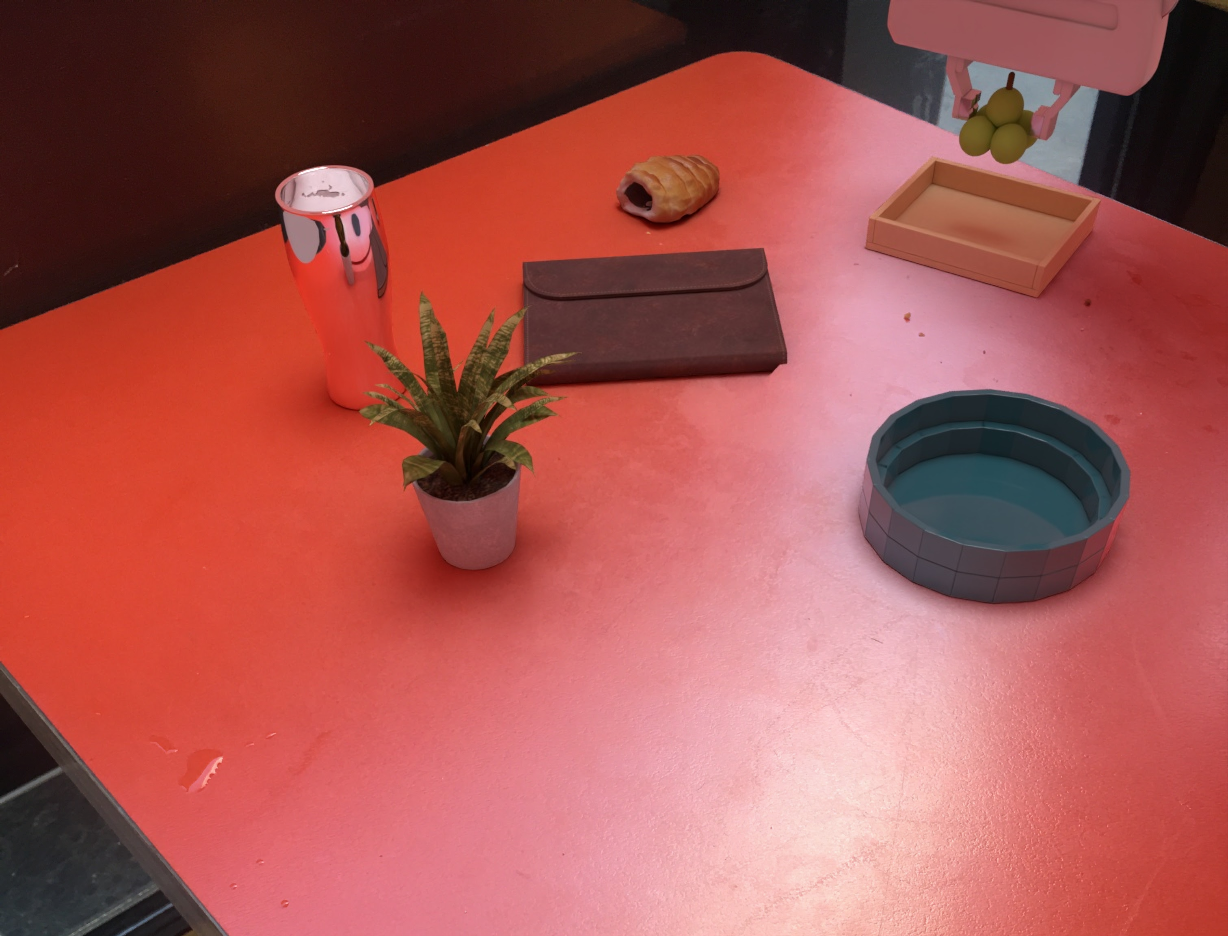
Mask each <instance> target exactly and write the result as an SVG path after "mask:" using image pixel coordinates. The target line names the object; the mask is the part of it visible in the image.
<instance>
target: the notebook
mask: <svg viewBox="0 0 1228 936" xmlns="http://www.w3.org/2000/svg"><path fill="white" fill-rule="evenodd" d="M768 265H769V264H768V259H767V255H766V252H765V248H764V247H755V248H752V247H751V248H737V249H724V250H723V249H720V250H719V249H717V250H704V251H686V252H685V251H684V252H669V253H667V252H666V253H653V254H650V253H649V254H636V255H618V256H616V255H615V256H602V257H586V258H585V257H584V258H583V257H582V258H568V259H567V258H565V259H550V260H534V261H523V262H522V288H523V289H522V294H523V295H522V296H523V298H522V300H523V301H522V302H523V303H522V304H523V308H525V307H528V306H530V307H528V308H527V309H526V311H525V313H524V316H523V366H525V365H527V364H529V363H531V362H533V361H536V360H538V359H540V358H544V357H547V356H551V355H555V354H562V353H572V352H581V353H577V354H574V355H572V356H570V357H567V358H564V359H561V360H557V361H554V362H559V361H570V360H576V361H572V362H567V363H562V364H555V365H548V366H543V367H540V368H538V369H537V370H557V371H556V372H553V373H550V374H544V375H539V376H537V377H535V378H533V379H532V380H530V381H529V382H527V383H526V384H525V386H536V385H553V384H555V385H556V384H571V383H586V382H587V383H588V382H589V383H590V382H604V381H622V380H636V379H653V378H655V379H656V378H657V379H658V378H673V377H686V376H687V377H688V376H705V375H721V374H722V375H723V374H739V373H740V374H741V373H756V372H772V371H776V370H777V369H778V368H779V366H781V365H787V363H788V349H787V345H786V340H785V336H784V331H783V328H782V324H781V319H780V315H779V310H778V306H777V302H776V298H775V294H774V290H773V289H774V288H773V285H772V281H771V277H770V272H769V268H768V267H769V266H768ZM531 305H532V306H531ZM523 308H522V309H523ZM537 370H535V371H537Z"/></svg>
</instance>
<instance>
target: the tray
mask: <svg viewBox="0 0 1228 936" xmlns="http://www.w3.org/2000/svg"><path fill="white" fill-rule="evenodd" d="M1101 202H1102V199H1101V198H1097V197H1094V196H1091V195H1086V194H1082V193H1079V192H1074V191H1071V190H1066V189H1063V188H1059V187H1054V186H1051V185H1047V184H1043V183H1040V182H1036V181H1031V180H1027V179H1025V178H1024V179H1023V178H1019V177H1015V176H1011V175H1007V174H1003V173H1000V172H996V171H992V170H988V169H984V168H980V167H977V166H972V165H969V164H965V163H961V162H958V161H957V162H956V161H953V160H948V159H945V158H941V157H937V156H934V155H932V156H931V157H930V158H929V159H928V160H926V161H925V163H923V164H922V165H921V166H920V167H919V168H918V169H917V170H916V171H915V172H914V173H913V174H912V175H911V176H910V177H909V178H908V179H907V180H906V181H905V182H904V183H902V185H901V186H900V187H899V188H898V189H896V191H894V193H893V194H892V195H891V196H890V197H888V199H886V201H884V203H883V204H881V205H880V207H878V208H877V209H876V210H875V211H874V212H873V213H872V214H871V215H870V216H869V217H868V223H867V224H868V225H867V230H866V238H865V246H864V248H865V249H868V250H871V251H875V252H877V253H881V254H885V255H889V256H892V257H895V258H899V259H903V260H905V261H909V262H912V263H915V264H920V265H922V266H927V267H929V268H932V269H935V270H941V271H944V272H947V273H950V274H954V275H958V276H961V277H964V278H968V279H971V280H974V281H978V282H982V283H985V284H988V285H991V286H996V287H1000V288H1002V289H1005V290H1009V291H1013V292H1016V293H1019V294H1023V295H1027V296H1030V297H1033V298H1038V297H1039V296H1040V295H1041V293H1043V291H1044V290H1045V289H1046V288H1047V286H1048V285H1049V284H1050V283H1051V282H1052V280H1053V279H1054V278H1055V276H1056V275H1057V274H1058V273H1059V272H1060V271H1061V269H1062V268H1063V267H1064V266H1065V264H1066V263H1067V262H1068V261H1069V259H1070V258H1071V257H1072V256H1073V255H1074V253H1075V252H1076V251H1077V250H1078V248H1079V247H1080V246H1081V245H1082V243H1083V242H1084V241H1085V239H1087V237H1088V236H1089V235H1090V234H1091V232H1092V231H1093V230H1094V227H1095V223H1096V220H1097V216H1098V213H1099V209H1100V206H1101Z"/></svg>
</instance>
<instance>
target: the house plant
mask: <svg viewBox="0 0 1228 936" xmlns="http://www.w3.org/2000/svg"><path fill="white" fill-rule="evenodd" d="M423 291H424V289H422V290H421V292H420V295H419V302H418V303H419V305H418V317H419V332H420V337H421V346H422V353H423V355H422V356H423V367H424V377H425V379H424V378H423V377H422V376H420V375H419V374H416V373H414V372H412V371H411V370H410V369H409V368H408V367H407V366H406V365H405V364H404V363H403V362H402V361H401V359H400V360H398V359H397V358H396V357H395V356H394V355H392V354H391V353H390V352H388V351H387V350H385V349H383V348H382V347H380V346H377V345H374V344H372V343H370V342H367V341H365V342H366V343H367V345H368V346H369V347H370V348H371V350H372V351H374V352H375V353H376V354H377V355H379V356H380V357H381V358H382V360H383V362H384V363H385V365H386V366H387V368H388V369H389V370H390V372H387V373H391V372H392V373H393V374H394V375H395V376H396V377H397V378H398V379H399V380H400V381H401V383H402V384H403V385H404V386H405V388H406V389H405V390H406V391H408V393H409V395H410V397H411V399H412V400H411V399H410V398H409V397H407V396H405V394H401V393H399V392H397V391H396V390H395V389H393V388H392V387H390V386H389V385H387V384H375V385H377V386H380V387H384V388H388V389H390V390H391V391H393V392H395V393H396V394H397V395H399V396H400V397H399V398H402V399H403V400H405V401H406V402H407V403H408V404H409V405H410V406H411V407H412V408H409V407H408V408H407V407H405V406H404V405H402V404H401V403H399V402H398V401H397V400H393V399H390V398H388V397H386V396H384V395H382V394H380V393H377V392H363V393H364V394H366V395H368V396H370V397H372V398H376V399H380V400H381V401H383V402H384V403H386V404H387V405H385V404H374V405H369V406H367V407H365V408H363V409H361V410H358V412H357V413H358V414H359V413H360V415H361V416H362V417H363V418H365V419H367V420H369V421H370V423H369V425H368V426H367V428H368V427H370V426H373V424H375V423H377V424H380V425H385V426H389V427H391V428H395V429H398V430H401V431H403V432H405V433H407V434H408V435H410V436H412V438H414V439H416V440H417V441H418V442H419V443H421V444H422V445H423V446H424V447H423V448H422V449H421V450H420V451H419V452H418V453H417V454H413V455H410V456H407V457H405V458H404V459H402V462H401V468H402V476H403V483H402V487H403V492H405V491H406V488H407V487H408V486H409V485H412V487H413V490H414V493H415V494H416V497H417V499H418V501H419V504H420V507H421V509H422V511H423V514H424V517H425V518H426V522H427V524H428V527H429V529H430V531H431V534H432V537H433V539H434V541H435V544H436V546H437V548H438V551H439V553H440V556H441V557H442V559H443V560H444V561H445V560H446V561H445V562H447V563H448V564H450V565H451V566H453V567H455V568H458V569H463V570H469V571H474V570H475V571H476V570H484V569H485V570H486V569H488V568H492V567H495V566H496V565H497V566H498V565H499V564H501V563H502V562H504V561H505V560H507V559H508V558H509V557H510V556H511V554H512V553H513V552H514V550H515V547H516V542H517V541H516V540H517V529H518V528H517V527H518V516H519V515H518V514H519V499H520V488H521V486H520V485H521V477H522V476H521V474H522V473H521V472H522V466H524V467H525V468H527V469H528V470H529V471H531V472H532V474H533V476H534V478H537V477H536V474H535V470H534V463H533V457H532V455H531V453H530V452H529V450H528V449H527V448H526V447H525V446H524V445H522V444H520V443H519V442H517V441H513V440H508V439H507V438H508V437H509V436H510V435H511V434H512V433H514V432H516V431H519V430H521V429H524V428H526V427H529V426H531V425H533V424H536V423H539V422H540V421H544V420H545V419H547V418H550V417H559V418H562V416H561V415H559V414H558V412H555V411H554V410H552V409H550V408H549V407H547V406H545V405H547V404H549V403H553V402H554V403H555V402H559V401H562V400H565V399H569V398H570V397H568V396H552V395H551V394H550V393H548V392H546V391H545V390H543V389H542V388H539V387H537V386H534V385H526V383H527V382H529V381H530V380H532V379H533V378H535V377H537V376H539V375H544V374H550V373H553V372H556V371H557V370H537V369H538V368H540V367H543V366H548V365H555V364H562V363H567V362H572V361H576V360H570V361H559V362H554V361H557V360H561V359H564V358H567V357H570V356H572V355H574V354H577V353H581V352H572V353H562V354H555V355H551V356H547V357H544V358H540V359H538V360H536V361H533V362H531V363H529V364H527V365H525V366H524V365H523V366H519V367H517V368H514V369H511V370H509V371H507V372H504V373H502V374H500V375H498V376H497V374H498V373H499V371H500V369H501V368H502V367H501V366H502V365H503V363H504V361H505V359H506V357H507V356H508V354H509V352H510V351H509V350H510V346H511V342H512V339H513V334H514V331H515V330H516V328H517V327H518V325H519V323H520V322H521V321H522V319H524V313H525V311H526V309H527V308H528V307H530V306H528V307H525V308H521V309H519V310H518V311H517V312H515V313H514V314H512V315H511V316H510V317H508V318H507V319H506V320H505V322H503V323H502V325H501V326H500V327H499V328H498V329H497V331H496V332H495V334H494V335H493V337H492V339H491V341H490V342H489V339H490V336H491V333H492V329H493V326H494V324H495V323H494V322H495V311H496V308H497V306H495V307H494V308H493V309H492V310H491V312H490V313H489V314H488V317H487V319H486V320H485V322H484V323H483V325H482V327H481V330H480V331H479V334H478V336H477V338H476V340H475V342H474V344H473V346H472V348H471V349H470V352H469V354H468V355H467V358H466V357H464V358H463V359H462V360H461V361H460V362H459V363H458V364H457V365H456V366H455V367H454V368H453V364H452V360H451V356H450V349H449V343H448V342H449V341H448V337H447V333H446V332H445V329H444V328H443V326H442V325H441V323H440V321H439V320H438V319H437V317H436V315H435V312H434V308H433V306H432V303H431V300H430V299H429V298H428V297H427V296H426V295H425V294H424V292H423ZM531 306H532V305H531ZM362 341H363V340H362ZM488 342H489V344H488ZM465 359H466V360H465ZM463 361H465V363H464V366H463V368H462V371H461V375H460V378H459V382H458V387H457V384H456V379H455V372H456V370H457V369H459V367H460V366H461V365H462V363H463ZM535 370H537V371H535ZM417 378H419V379H420V380H421V381H422V382H423V384H424V385H425V386H426V388H427V389H426V391H425V390H424V388H423V386H422V385H421V383H420V382H419V380H418V379H417ZM539 397H543V398H540V399H538V400H535V401H534V402H532V403H530V404H529V405H526V406H524V407H522V408H520V409H518V408H517V407H516V406H515V404H516V403H518V402H521V401H525V400H529V399H533V398H539ZM507 409H511V410H513V411H515V412H513V413H512V414H511V415H509V416H508V417H506V418H505V419H504V420H503V421H502V422H501V423H500V424H498V425H497V426H496V427H495V429H494V430H493V432H491V431H490V430H491V429H492V427H493V425H494V423H495V422H496V420H497V419H499V417H501V415H502V414H503V413H504V412H505V411H506V410H507ZM490 432H491V434H489V433H490Z"/></svg>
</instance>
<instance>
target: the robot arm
mask: <svg viewBox="0 0 1228 936" xmlns="http://www.w3.org/2000/svg"><path fill="white" fill-rule="evenodd" d="M1178 3H1179V0H890V1H889V7H888V14H887V23H886V25H887V29H888V32H889V34H890V37H891V39H892V40H893V42H894V43H895V44H898V45H900V46H901V45H902V46H906V47H909V48H910V47H911V48H915V49H919V50H924V51H927V52H933V53H937V54H941V55H945V56H947V59H946V64H945V73H946V75H947V78H948V81H949V84H950V87H951V91H952V93H953V94H952V95H953V96H954V100H953V106H952V111H951V118H953V119H956V120H961V121H965V122H967V121H968V120H969V119H971V118H972V117H975V116H976V114H977V112H978V110H979V108H980V105H979V102H980V100H981V96H982V90H979V89H976V88H973V84H972V80H971V76H970V73H969V69H968V67H969V66H970V65H971V64H972V63H973V62H976V63H981V64H986V65H989V66H993V67H998V68H1002V69H1007V70H1010V71H1014V72H1015V71H1016V72H1020V73H1024V74H1029V75H1034V76H1038V77H1042V78H1046V79H1051V80H1055V81H1054V85H1053V90H1052V94H1053V95H1056V96H1058V98H1057V99H1056V100H1055V101H1054V102H1053V104H1052V105H1050V106H1048V105H1040V106H1039V107H1038V108H1037V110H1035V111H1033V112H1034V113H1033V115H1032V119H1031V126H1032V127H1031V128H1030V129H1029V132H1028V136H1029V137H1033V138H1037V140H1042V141H1045V142H1047V141H1048V140H1049V139H1051V137H1052V136H1053V134H1054V132H1055V129H1056V126H1057V121H1058V117H1059V113H1060V112H1061V110H1062V109H1063V108H1064V107H1065V106H1066V105H1067V103H1068V102H1070V100H1071V99H1072V98H1073V97H1074V95H1075V94H1076V93H1077V92H1078V91H1079V90H1080V88H1081V86H1082V87H1086V88H1091V89H1094V90H1099V91H1103V92H1107V93H1111V94H1116V95H1120V96H1131V95H1134V94H1135V93H1136V92H1137V91H1139V90H1140V89H1141V88H1143V87H1144V86H1145V85H1146V84H1148V82H1149V81H1150V80H1151V79H1152V78H1153V76H1154V74H1155V73H1156V71H1157V69H1158V67H1159V63H1160V60H1161V56H1162V52H1163V48H1164V43H1165V38H1166V33H1167V27H1168V22H1169V17H1170V13H1171V12H1173V10H1174V9H1175V7H1176V6H1177V4H1178Z"/></svg>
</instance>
